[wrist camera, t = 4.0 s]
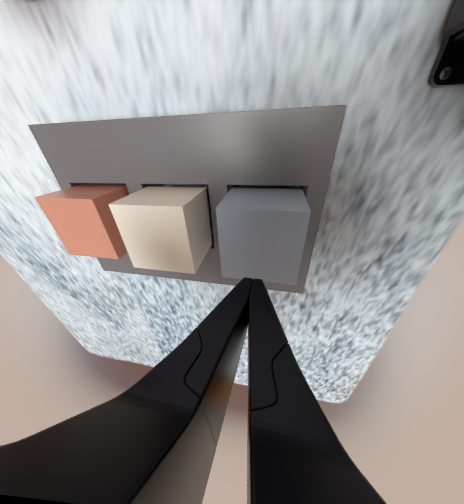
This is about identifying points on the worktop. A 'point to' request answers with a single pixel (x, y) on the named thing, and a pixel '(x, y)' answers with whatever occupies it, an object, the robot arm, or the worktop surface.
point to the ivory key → (165, 227)
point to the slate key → (262, 233)
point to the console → (202, 163)
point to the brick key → (86, 218)
